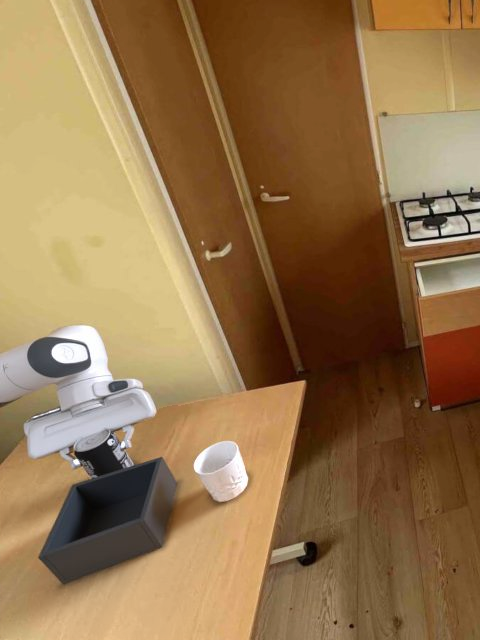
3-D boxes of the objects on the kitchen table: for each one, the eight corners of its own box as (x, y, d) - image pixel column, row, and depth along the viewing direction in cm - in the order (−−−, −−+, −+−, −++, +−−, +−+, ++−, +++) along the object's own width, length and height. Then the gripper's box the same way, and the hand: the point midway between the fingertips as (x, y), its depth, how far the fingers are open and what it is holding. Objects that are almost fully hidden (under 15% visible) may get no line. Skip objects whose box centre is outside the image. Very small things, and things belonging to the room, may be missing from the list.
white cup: (238, 464, 97) (225, 435, 92) (258, 481, 93) (245, 451, 88) (202, 493, 91) (185, 462, 86) (221, 512, 87) (205, 481, 82)
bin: (63, 584, 75) (37, 557, 71) (92, 511, 87) (71, 484, 83) (162, 546, 81) (144, 519, 77) (177, 482, 93) (162, 456, 89)
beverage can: (88, 485, 92) (62, 448, 86) (120, 459, 97) (96, 423, 92) (112, 492, 90) (86, 455, 85) (142, 466, 96) (120, 429, 90)
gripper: (13, 418, 85) (26, 486, 82) (141, 376, 95) (157, 435, 93) (30, 419, 90) (43, 483, 88) (150, 379, 101) (165, 435, 98)
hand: (103, 458), depth 90 cm, fingers closed on beverage can, 6 cm apart
